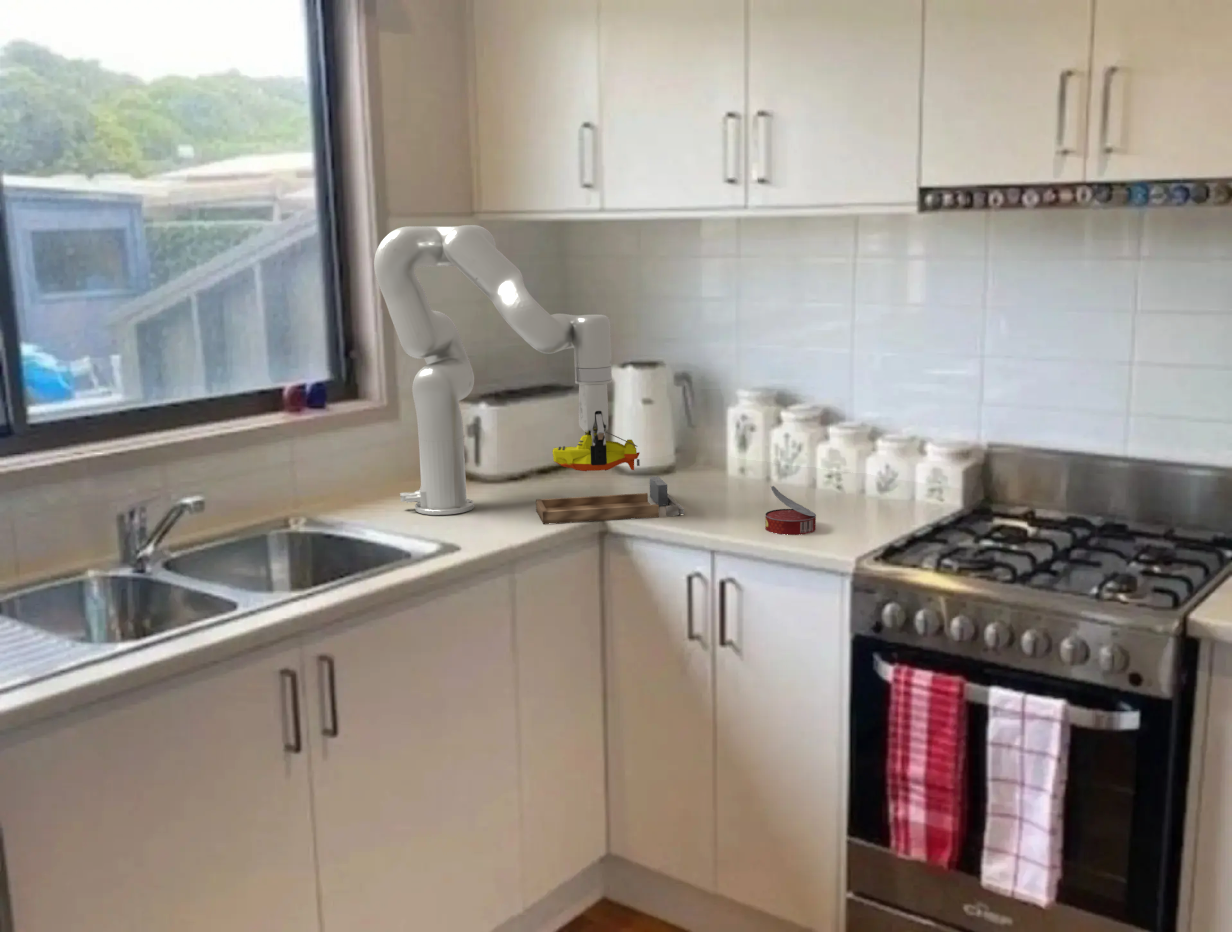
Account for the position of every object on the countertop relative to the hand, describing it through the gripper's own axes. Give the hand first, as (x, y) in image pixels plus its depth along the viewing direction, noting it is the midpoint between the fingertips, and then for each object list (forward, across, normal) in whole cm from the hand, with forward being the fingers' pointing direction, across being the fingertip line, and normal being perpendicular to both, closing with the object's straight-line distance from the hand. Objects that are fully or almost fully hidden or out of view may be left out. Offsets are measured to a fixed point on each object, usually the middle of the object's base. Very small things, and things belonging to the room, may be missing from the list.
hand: (596, 460), depth 250 cm
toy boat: (+2, 0, 0) cm, 2 cm away
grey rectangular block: (+11, -8, +15) cm, 20 cm away
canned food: (+12, +22, +35) cm, 43 cm away
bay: (+11, -4, +3) cm, 12 cm away
